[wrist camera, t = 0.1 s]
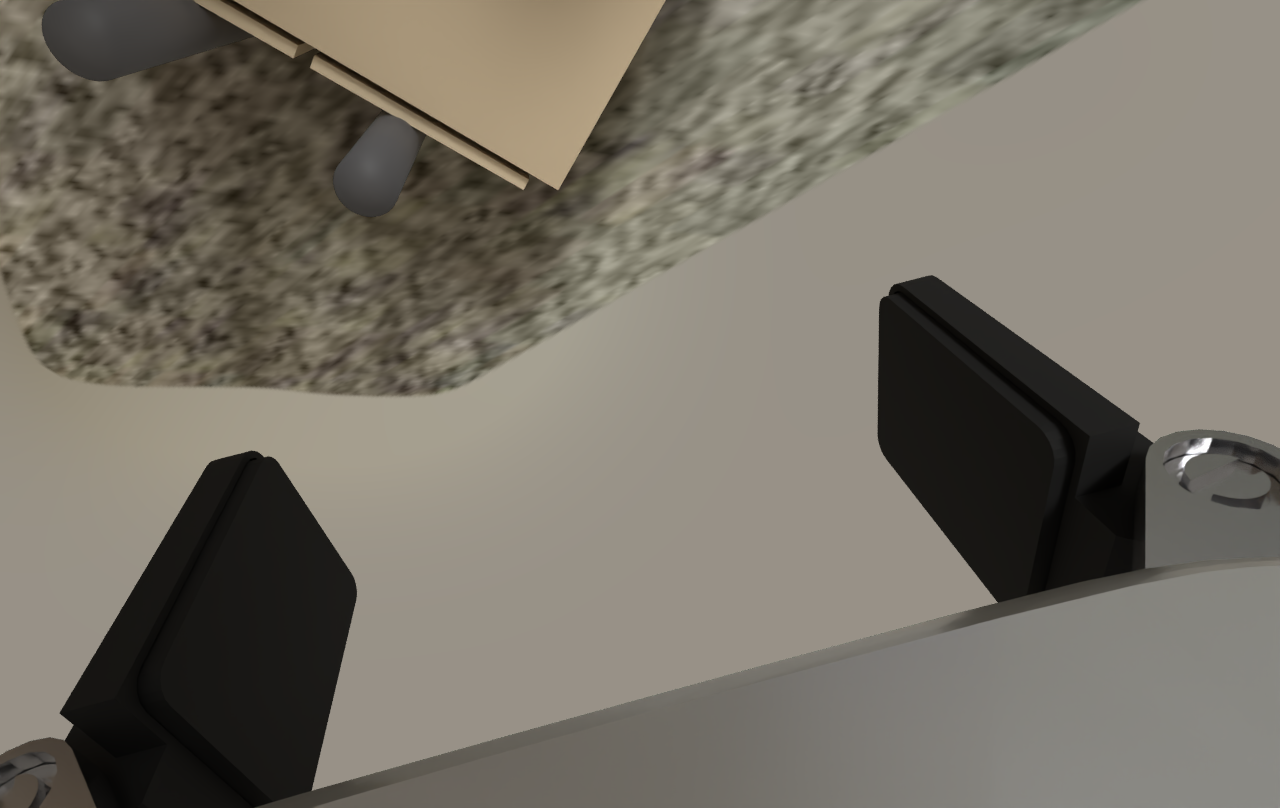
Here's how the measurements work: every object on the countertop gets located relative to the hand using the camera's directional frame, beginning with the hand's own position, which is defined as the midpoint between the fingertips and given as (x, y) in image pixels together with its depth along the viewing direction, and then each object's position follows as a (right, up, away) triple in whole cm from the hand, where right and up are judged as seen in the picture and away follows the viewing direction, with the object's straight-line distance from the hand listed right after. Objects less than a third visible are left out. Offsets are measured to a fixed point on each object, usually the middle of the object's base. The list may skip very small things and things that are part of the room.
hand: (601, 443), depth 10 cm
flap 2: (-10, +16, +24) cm, 31 cm away
